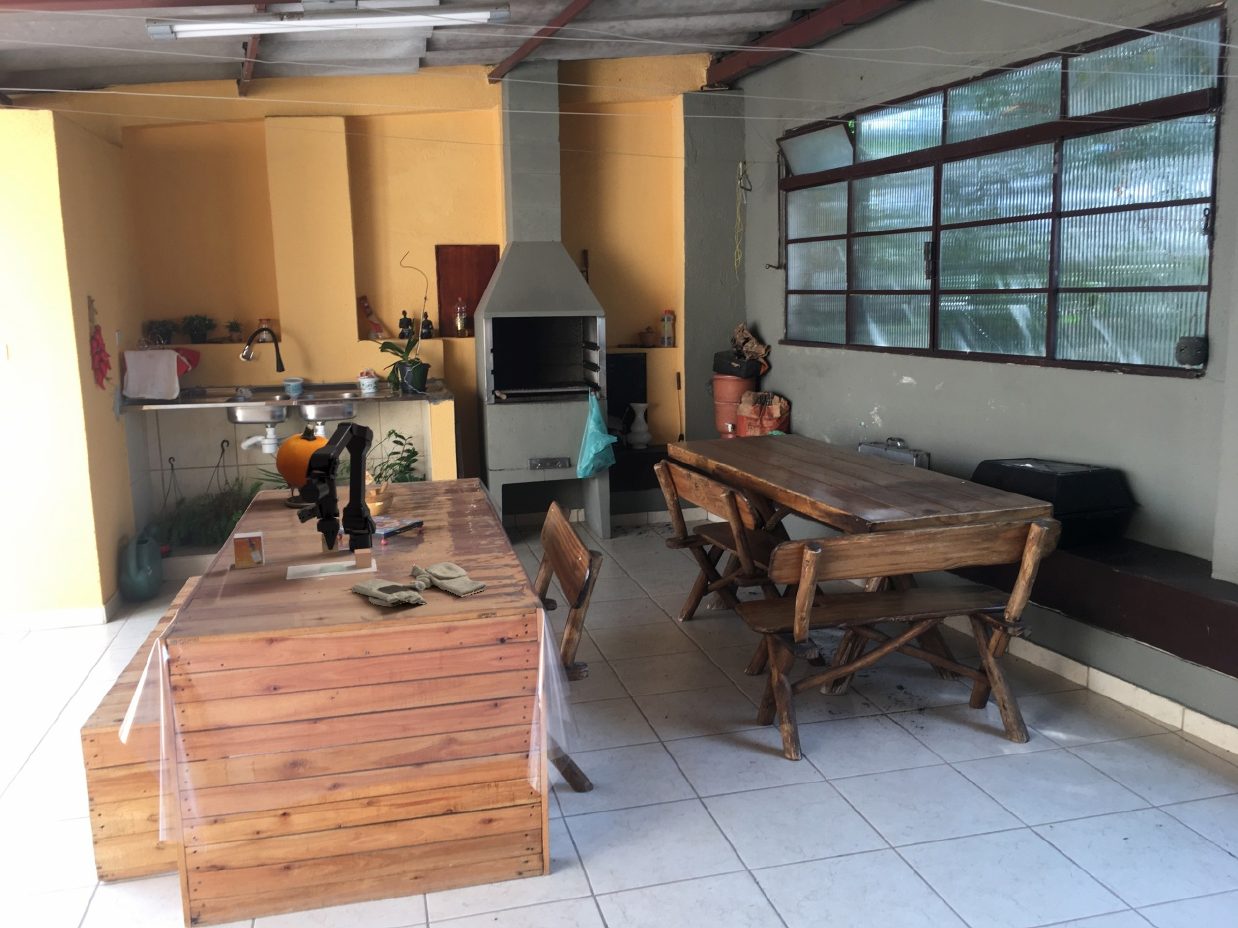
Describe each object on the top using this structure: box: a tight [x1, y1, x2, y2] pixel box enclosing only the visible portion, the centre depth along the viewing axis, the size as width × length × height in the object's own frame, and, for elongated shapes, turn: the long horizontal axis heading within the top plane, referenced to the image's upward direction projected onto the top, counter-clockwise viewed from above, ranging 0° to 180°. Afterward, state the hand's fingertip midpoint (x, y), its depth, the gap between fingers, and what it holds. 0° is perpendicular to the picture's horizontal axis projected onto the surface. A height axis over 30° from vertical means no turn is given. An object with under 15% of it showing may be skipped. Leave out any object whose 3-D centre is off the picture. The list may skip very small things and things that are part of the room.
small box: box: [232, 531, 266, 570], centre depth 304 cm, size 8×6×10 cm
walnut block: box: [321, 533, 340, 554], centre depth 298 cm, size 4×4×4 cm
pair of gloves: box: [351, 561, 487, 608], centre depth 282 cm, size 30×26×5 cm
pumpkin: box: [275, 424, 340, 509], centre depth 386 cm, size 22×22×30 cm
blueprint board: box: [285, 558, 378, 580], centre depth 300 cm, size 25×13×1 cm, turn 105°
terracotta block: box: [354, 549, 372, 569], centre depth 301 cm, size 4×4×4 cm
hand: (330, 547), depth 298 cm, fingers closed on walnut block, 4 cm apart
